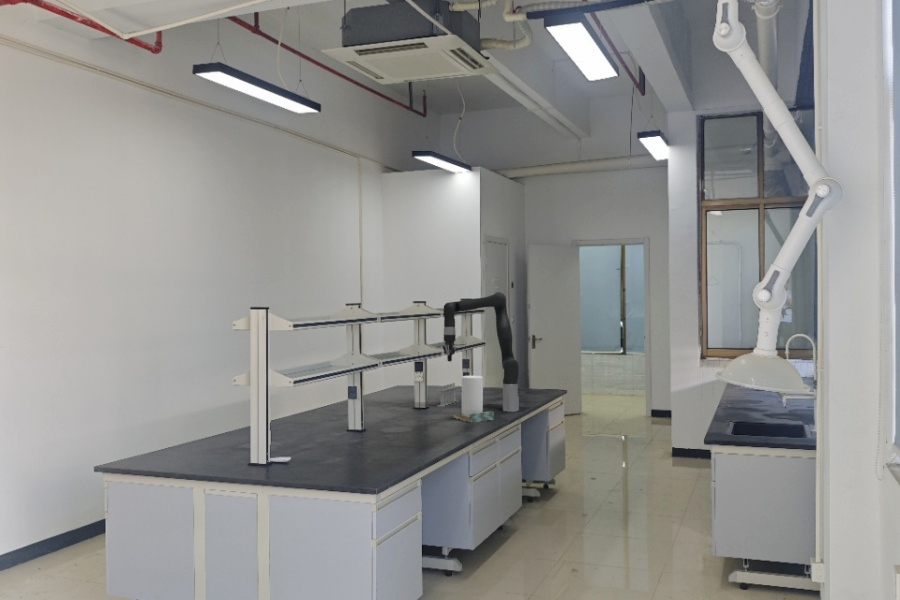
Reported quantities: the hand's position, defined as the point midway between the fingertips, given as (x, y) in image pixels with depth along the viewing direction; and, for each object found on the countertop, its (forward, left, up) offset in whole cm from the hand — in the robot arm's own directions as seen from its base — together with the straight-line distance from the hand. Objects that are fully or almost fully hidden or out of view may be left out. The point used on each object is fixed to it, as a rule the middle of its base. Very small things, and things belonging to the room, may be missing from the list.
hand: (449, 361), depth 492 cm
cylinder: (+8, +35, -31) cm, 48 cm away
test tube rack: (-13, -21, -31) cm, 40 cm away
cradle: (+8, +36, -31) cm, 48 cm away
